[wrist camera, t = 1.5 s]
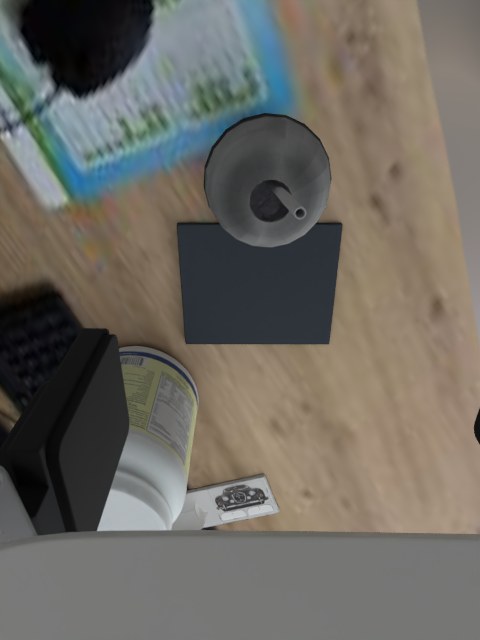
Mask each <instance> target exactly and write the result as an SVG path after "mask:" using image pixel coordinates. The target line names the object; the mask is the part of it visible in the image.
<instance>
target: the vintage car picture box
mask: <svg viewBox="0 0 480 640" xmlns="http://www.w3.org/2000/svg"><path fill="white" fill-rule="evenodd" d="M274 513H279V508H278V505H277V503H276V501H275V498H274V496H273V493H272V491H271V489H270V486H269V484H268V481H267V479H266V477H265V474H262V475H257V476H253V477H248V478H243V479H239V480H234V481H230V482H225V483H220V484H216V485H211V486H207V487H202V488H197V489H193V490H188V491H186V497H185V501H184V505H183V507H182V510H181V512H180V514H179V516H178V517H177V519H176V520H175V521H174V523H173V524H172V529H171V530H201V529H202V528H205V527H210V526H215V525H220V524H225V523H230V522H235V521H240V520H245V519H249V518H254V517H259V516H264V515H269V514H274Z"/></svg>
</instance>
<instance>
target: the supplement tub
mask: <svg viewBox="0 0 480 640" xmlns="http://www.w3.org/2000/svg"><path fill="white" fill-rule="evenodd" d="M119 354H120V361H121V367H122V374H123V380H124V387H125V394H126V400H127V407H128V414H129V432H128V436H127V439H126V442H125V445H124V448H123V451H122V454H121V458H120V461H119V464H118V467H117V470H116V473H115V476H114V479H113V482H112V486H111V489H110V492H109V495H108V498H107V501H106V504H105V507H104V510H103V514H102V517H101V520H100V523H99V526H98V529H97V531H124V530H171V529H172V524H173V523H174V521H175V520H176V519H177V517H178V516H179V514H180V512H181V510H182V507H183V505H184V501H185V497H186V491H187V480H188V472H189V464H190V457H191V450H192V442H193V435H194V428H195V421H196V414H197V410H198V393H197V389H196V385H195V383H194V381H193V379H192V377H191V375H190V374H189V373H188V371H187V370H186V369H185V368H184V367H183V366H182V365H181V364H180V363H179V362H178V361H177V360H175V359H174V358H172V357H171V356H169V355H167V354H165V353H163V352H161V351H159V350H156V349H152V348H148V347H143V346H128V347H122V348H119Z"/></svg>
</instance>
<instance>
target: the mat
mask: <svg viewBox="0 0 480 640" xmlns="http://www.w3.org/2000/svg"><path fill="white" fill-rule="evenodd" d="M177 233H178V247H179V260H180V274H181V287H182V301H183V315H184V328H185V342H186V344H329V341H330V332H331V323H332V314H333V305H334V296H335V287H336V278H337V269H338V260H339V251H340V242H341V233H342V223H316V224H315V225H314V226H313V227H312V228H311V229H310V230H309V231H308V232H307V233H306V234H305V235H303V236H301V237H300V238H298V239H296V240H294V241H292V242H290V243H289V244H285V245H280V246H275V247H260V246H252V245H249V244H247V243H245V242H242V241H240V240H237V239H236V238H234V237H233V236H232V235H231V234H230V233H228V232H227V231H226V230H225V229H224V228H222V226H221V225H220V223H178V224H177Z"/></svg>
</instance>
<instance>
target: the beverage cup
mask: <svg viewBox="0 0 480 640" xmlns="http://www.w3.org/2000/svg"><path fill="white" fill-rule="evenodd" d="M330 184H331V171H330V163H329V157H328V155H327V153H326V151H325V149H324V147H323V145H322V143H321V141H320V139H319V138H318V137H317V136H316V135H315V134H314V133H313V132H312V131H311V130H310V129H309V128H308V127H307V126H306V125H305V124H303V123H301V122H299V121H297V120H295V119H293V118H291V117H289V116H287V115H279V114H269V113H263V114H259V115H255V116H251V117H247V118H243V119H242V120H240V121H239V122H237V123H236V124H234V125H233V126H231V127H229V128H228V129H226V130H225V131H224V133H223V134H222V135H221V136H220V138H219V139H218V140H217V141H216V143H215V144H214V145H213V146H212V149H211V151H210V154H209V157H208V159H207V162H206V165H205V172H204V190H205V194H206V197H207V201H208V205H209V207H210V209H211V211H212V212H213V214H214V215H215V217H216V218H217V220H218V222H219V223H220V225H221V226H222V228H224V229H225V230H226V231H227V232H228V233H230V234H231V235H232V236H233V237H234V238H236V239H237V240H240V241H242V242H245V243H247V244H249V245H252V246H260V247H275V246H280V245H285V244H289V243H290V242H292V241H294V240H296V239H298V238H300V237H301V236H303V235H305V234H306V233H307V232H308V231H309V230H310V229H311V228H312V227H313V226H314V225H315V224H316V223H317V222H318V220H319V218H320V216H321V214H322V212H323V210H324V208H325V207H326V205H327V200H328V195H329V189H330Z"/></svg>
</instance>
